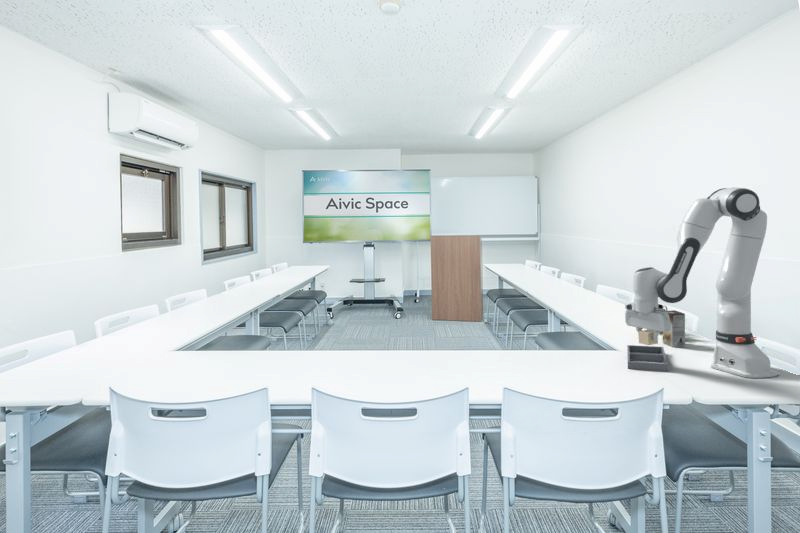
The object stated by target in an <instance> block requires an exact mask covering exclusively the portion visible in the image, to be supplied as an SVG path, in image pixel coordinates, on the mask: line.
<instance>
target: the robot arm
mask: <svg viewBox="0 0 800 533" xmlns="http://www.w3.org/2000/svg"><path fill="white" fill-rule="evenodd" d="M724 216H725V217H730V218H731V221H732V223H731V224H732V225H731V228H730V233H729V236H728V239H727V243H726V247H725V251H724V255H723V257H722V262H721V265H720V269H719V272H718V276H717V279H716V282H715V288H716V291H717V300H716V301H717V305H716V306H717V308H716V326H717V328H716V331H715V340H716V344H715V346H714V350H713V360H712V363H711V365H710V368H712V369H715V370H719V371H721V372H726V373H729V374H732V375H736V376H740V377H743V378H748V379H749V378H752V379H758V378H761V379H762V378H774V377H777V376H780V375H779V371H777V370H775V369H772V367H771V361H770V358H769V356H768V355H767V354H766V353H764V352H763V351H762V349H761V348H760V347H759V346H758V345H757V344H756V342H755V341H757V338H758V337H757V336H754V335H753V332H752V321H751V320H752V312H751V311H752V306H751V305H752V304H751V303H752V302H751V300H752V298H751V297H752V296H751V295H752V292H751V290H752V284H753V282H754V278H755V274H756V271H757V269H756V268H757V266H758V262H759V258H760V255H761V251H762V247H763V244H764V242H765V237H766V232H767V225H768V214H767V213H766V212H765V211H764V210H762V209H761V206H760V198H759V196H758V194H757V193H756V192H755V191H753V190H751V189H749V188H746V187H745V188H744V187H742V188H741V187H730V188H729V187H726V188H725V187H724V188H720V189H717V190H715V191H713V192H712V193H711V194H710V195H709V196H708V197H705V198H698V199H695V200H694V201H693V202H692V204H690V206H689V208H688V209H687V211H686V213H685V214H684V216H683V218H682V219H681V220H682V221H681V223H680V225H679V228H678V231H677V235H676V242H677V253H676V256H675V259H674V261H673V263H672V265H671V267H670V270H669V273H667V272H662V271H660V270H658V269H656V268H654V267H652V266H651V267H650V266H649V267H643V268H639V269H637V270H636V271H635V272H634V274H633V282H632V283H633V285H632V286H633V287H632V288H633V292H634V299H633V301H634V302H631V303H627V304H625V305H624V309H625V313H624V318H625V320H624V321H625V324H626V325H627V326H629V327H632V328H633V327H634V328H636V329H635V330H636V331H637V333H638V331H643V329H644V330H647V329H650V330H653V333H654V335H653V336H651V338H652V340H653V341H657V340H658V341H659V335H660V334H659V333H660V331H661V332H667V331H670V329H671V324H670V318H669V314H668V312H667V311H668V310H667V311H666V308H663V309H660V308H658V304H659V300H661V301H663V302H665V303H668V304H676V303H678V302H681V301H682V300H684V299H685V297H686V296H687V293H688V292H687V290H688V286H687V279H688V277H689V274H690V272H691V270H692V268H693V265H694V262H695V261H696V258H697V256H698V254H700V252H701V250H702V249H703V248H704V246H705V245H706V244H707V242H708V240H709V239H710V236H711V235H712V233H713V230H714V229H715V225H716V224H717V222H718V221H719V220H720V219H721V217H724ZM665 311H666V312H665Z"/></svg>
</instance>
